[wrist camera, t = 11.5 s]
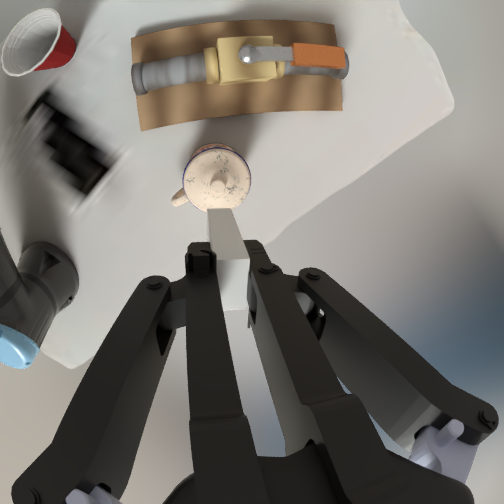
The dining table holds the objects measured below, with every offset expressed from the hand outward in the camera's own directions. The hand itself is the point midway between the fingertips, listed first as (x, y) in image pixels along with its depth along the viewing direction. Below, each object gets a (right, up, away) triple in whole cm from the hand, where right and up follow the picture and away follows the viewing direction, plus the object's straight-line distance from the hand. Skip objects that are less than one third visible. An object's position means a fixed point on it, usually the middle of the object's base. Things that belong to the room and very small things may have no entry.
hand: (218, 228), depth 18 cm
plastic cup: (-29, +32, +10) cm, 44 cm away
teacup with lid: (-5, +11, +25) cm, 28 cm away
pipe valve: (0, +27, +18) cm, 32 cm away
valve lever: (+7, +24, +11) cm, 27 cm away
